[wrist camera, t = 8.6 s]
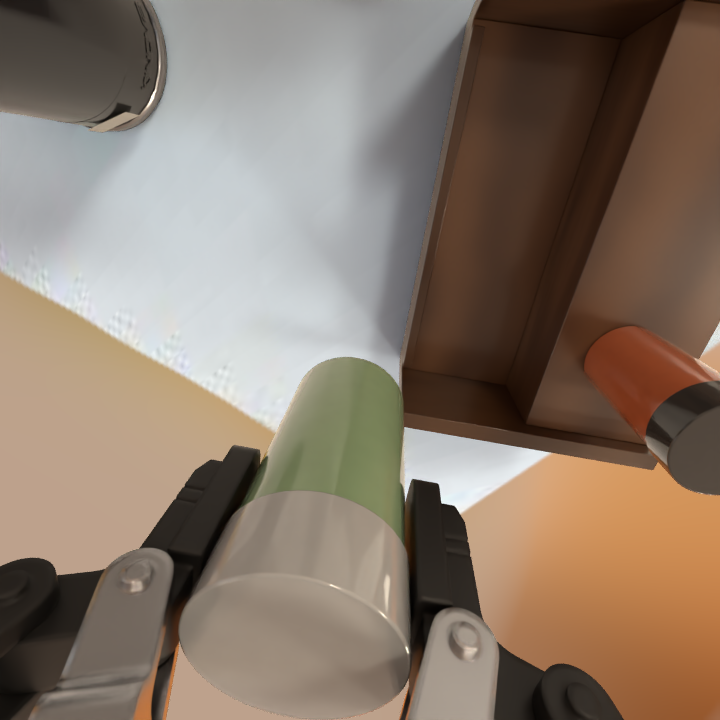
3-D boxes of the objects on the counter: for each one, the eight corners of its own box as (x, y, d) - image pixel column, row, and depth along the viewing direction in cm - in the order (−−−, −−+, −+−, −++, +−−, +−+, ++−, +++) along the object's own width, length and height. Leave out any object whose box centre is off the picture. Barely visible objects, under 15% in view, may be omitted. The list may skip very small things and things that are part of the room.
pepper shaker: (570, 387, 23) (648, 485, 15) (598, 317, 21) (702, 391, 14) (644, 399, 23) (758, 504, 15) (680, 330, 21) (828, 412, 14)
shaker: (289, 440, 17) (180, 696, 8) (299, 343, 15) (171, 553, 7) (394, 460, 16) (387, 738, 8) (417, 365, 15) (437, 604, 6)
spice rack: (399, 357, 33) (398, 426, 24) (467, 21, 24) (506, -78, 14) (583, 388, 32) (653, 470, 23) (726, 57, 23) (935, -21, 14)
